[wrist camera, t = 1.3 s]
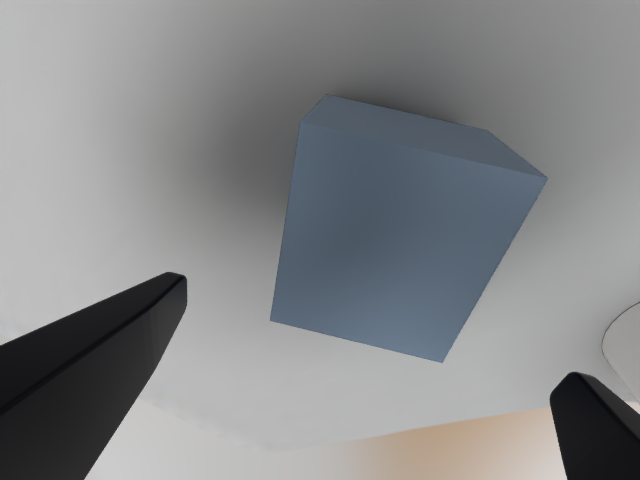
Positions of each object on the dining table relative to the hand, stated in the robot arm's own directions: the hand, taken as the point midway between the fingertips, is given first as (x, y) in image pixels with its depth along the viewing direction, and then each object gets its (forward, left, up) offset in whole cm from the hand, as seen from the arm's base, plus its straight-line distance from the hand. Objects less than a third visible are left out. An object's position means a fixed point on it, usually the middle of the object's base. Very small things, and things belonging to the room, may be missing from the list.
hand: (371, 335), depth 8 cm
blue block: (0, 0, -11) cm, 11 cm away
